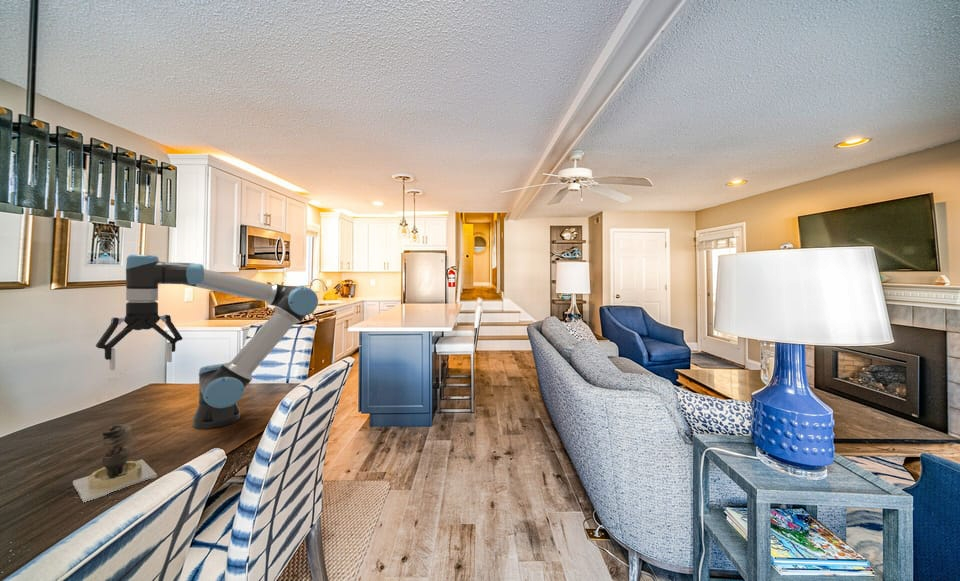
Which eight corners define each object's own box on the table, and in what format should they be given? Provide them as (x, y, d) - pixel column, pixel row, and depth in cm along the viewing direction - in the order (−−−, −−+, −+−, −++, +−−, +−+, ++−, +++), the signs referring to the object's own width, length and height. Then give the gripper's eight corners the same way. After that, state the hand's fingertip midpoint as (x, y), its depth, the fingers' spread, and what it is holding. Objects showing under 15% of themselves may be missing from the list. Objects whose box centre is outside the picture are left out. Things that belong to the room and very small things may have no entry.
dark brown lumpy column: (112, 472, 98) (112, 421, 98) (135, 470, 100) (135, 420, 99) (96, 484, 93) (96, 430, 92) (121, 481, 94) (121, 428, 94)
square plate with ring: (142, 462, 106) (142, 453, 106) (156, 477, 98) (156, 467, 98) (72, 484, 94) (72, 473, 94) (83, 503, 86) (83, 491, 86)
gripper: (186, 299, 124) (185, 357, 125) (82, 302, 103) (82, 371, 104) (193, 301, 120) (193, 360, 121) (87, 303, 99) (87, 375, 100)
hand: (142, 365), depth 112 cm, fingers open, 13 cm apart
